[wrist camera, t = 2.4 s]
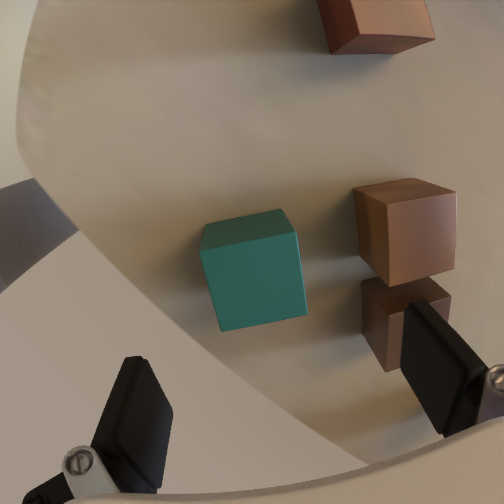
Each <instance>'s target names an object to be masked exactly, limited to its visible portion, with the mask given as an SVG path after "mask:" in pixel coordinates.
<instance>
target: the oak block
mask: <svg viewBox="0 0 504 504" xmlns="http://www.w3.org/2000/svg"><path fill="white" fill-rule="evenodd" d="M354 195H355V205H356V215H357V225H358V237H359V251H360V257H361V258H362V259H363V260H364V261H365V262H366V263H367V264H368V265H369V266H370V267H371V268H372V269H373V270H374V271H375V272H376V274H377V275H378V276H379V277H380V278H381V279H382V280H383V281H384V282H385V283H386V284H387V285H388V286H389V287H392V286H395V285H399V284H403V283H406V282H410V281H414V280H417V279H421V278H424V277H428V276H431V275H434V274H438V273H441V272H445V271H448V270H451V269H454V266H455V251H456V227H457V193H456V192H455V191H452V190H449V189H446V188H443V187H440V186H438V185H435V184H432V183H428V182H425V181H422V180H419V179H416V178H413V179H407V180H400V181H393V182H387V183H381V184H374V185H368V186H362V187H356V188H354Z"/></svg>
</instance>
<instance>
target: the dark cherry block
mask: <svg viewBox="0 0 504 504" xmlns="http://www.w3.org/2000/svg"><path fill="white" fill-rule="evenodd" d="M317 3H318V6H319V10H320V14H321V17H322V21H323V25H324V29H325V32H326V36H327V40H328V45H329V49H330V53H331V55H341V54H398V53H400V52H403V51H405V50H408V49H411V48H413V47H416V46H419V45H421V44H424V43H427V42H430V41H433V40H435V35H434V31H433V28H432V24H431V21H430V17H429V14H428V11H427V7H426V4H425V1H424V0H317Z"/></svg>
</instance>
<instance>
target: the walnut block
mask: <svg viewBox="0 0 504 504" xmlns="http://www.w3.org/2000/svg"><path fill="white" fill-rule="evenodd" d="M361 286H362V321H363V336H364V337H365V339H366V341H367V342H368V344H369V346H370V347H371V349H372V351H373V352H374V354H375V356H376V358H377V359H378V361H379V363H380V364H381V366H382V368H383V370H384V371H385V372H389V371H392V370H395V369H398V368H400V357H401V347H402V335H403V321H404V309H405V308H406V307H408V304H409V303H410V302H413V301H416V300H420V299H425V300H426V301H427V302H428V303H429V304H430V305H431V306H432V307H433V308H434V309H435V310H436V311H437V312H438V313H439V315H440V316H441V317H442V318H443V319H444V320H445V321H446V322H447V323H448V319H449V312H450V304H451V295H450V294H449V293H447V292H446V291H445V290H444V289H443V288H442V287H440V286H439V285H438V284H437V283H436V282H435V281H433V280H432V279H431V278H430V277H429V276H428V277H424V278H421V279H417V280H414V281H410V282H406V283H403V284H399V285H395V286H392V287H389V286H388V285H387V284H386V283H385V282H384V281H383V280H382V279H381V278H380V277H377V278H373V279H369V280H365V281H362V282H361Z"/></svg>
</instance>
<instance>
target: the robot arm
mask: <svg viewBox="0 0 504 504" xmlns="http://www.w3.org/2000/svg"><path fill="white" fill-rule="evenodd" d="M400 368H401V371H402V373H403V374H404V376H405V378H406V379H407V381H408V383H409V384H410V386H411V388H412V389H413V391H414V393H415V395H416V396H417V398H418V400H419V401H420V403H421V405H422V407H423V408H424V410H425V412H426V414H427V415H428V417H429V419H430V421H431V423H432V424H433V426H434V428H435V430H436V431H437V433H438V434H443V436H444V438H445V439H442V440H440V441H438V442H435V443H433V444H430V445H428V446H425V447H422V448H420V449H417V450H415V451H412V452H409V453H407V454H404V455H401V456H398V457H395V458H392V459H389V460H386V461H383V462H380V463H377V464H374V465H371V466H367V467H364V468H361V469H357V470H353V471H349V472H346V473H342V474H338V475H334V476H329V477H325V478H321V479H316V480H311V481H307V482H301V483H295V484H290V485H284V486H277V487H270V488H263V489H254V490H245V491H235V492H222V493H204V494H157V488H161V486H162V480H163V473H164V467H165V461H166V455H167V448H168V443H169V437H170V431H171V425H172V419H173V410H172V407H171V406H170V403H169V402H168V400H167V398H166V396H165V394H164V392H163V390H162V388H161V386H160V384H159V382H158V380H157V378H156V377H155V375H154V372H153V370H152V368H151V366H150V364H149V362H148V360H146V359H143V358H142V357H141V356H134V357H126V358H125V359H124V362H123V364H122V366H121V369H120V371H119V374H118V376H117V379H116V381H115V383H114V386H113V388H112V391H111V393H110V396H109V398H108V400H107V403H106V406H105V408H104V411H103V413H102V416H101V418H100V421H99V424H98V426H97V429H96V432H95V434H94V437H93V440H92V443H91V446H90V447H89V446H78V447H75V448H73V449H71V450H70V451H69V452H68V453H67V454H66V455H65V456H64V458H63V461H62V470H63V472H62V473H60V474H58V475H57V476H55V477H53V478H52V479H50V480H48V481H46V482H45V483H43V484H41V485H40V486H38V487H36V488H34V489H33V490H31V491H30V492H28V493H27V494H26V496H25V497H24V499H23V502H22V504H504V364H499V365H495V366H493V367H491V368H490V369H489V368H488V367H487V366H486V365H485V363H484V362H483V361H482V360H481V359H480V358H479V357H478V355H477V354H476V353H475V352H474V351H473V350H472V349H471V348H470V346H469V345H468V344H467V343H466V342H465V341H464V340H463V339H462V338H461V336H460V335H459V334H458V333H457V332H456V331H455V330H454V329H453V328H452V327H451V326H450V325H449V324H448V323H447V322H446V321H445V320H444V319H443V318H442V317H441V316H440V315H439V313H438V312H437V311H436V310H435V309H434V308H433V307H432V306H431V305H430V304H429V303H428V302H427V301H426V300H425V299H420V300H416V301H413V302H410V303H409V304H408V307H406V308H405V309H404V321H403V335H402V347H401V357H400Z"/></svg>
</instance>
